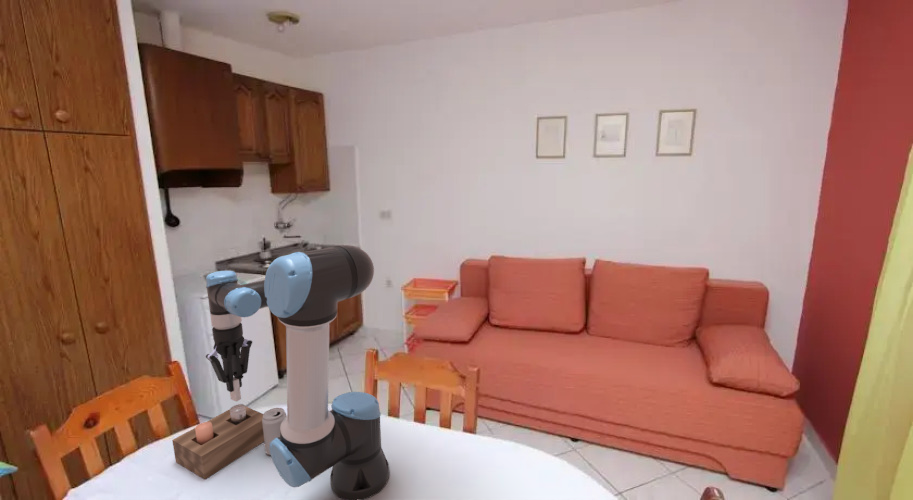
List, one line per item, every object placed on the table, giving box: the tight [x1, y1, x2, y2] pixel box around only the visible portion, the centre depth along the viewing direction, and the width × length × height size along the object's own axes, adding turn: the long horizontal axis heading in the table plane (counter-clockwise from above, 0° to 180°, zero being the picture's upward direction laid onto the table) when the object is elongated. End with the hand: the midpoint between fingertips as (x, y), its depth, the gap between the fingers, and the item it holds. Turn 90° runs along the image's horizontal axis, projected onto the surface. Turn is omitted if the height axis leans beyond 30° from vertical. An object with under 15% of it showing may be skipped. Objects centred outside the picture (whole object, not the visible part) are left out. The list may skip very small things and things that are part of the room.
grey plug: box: [229, 403, 246, 425], centre depth 122 cm, size 4×4×6 cm
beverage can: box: [262, 407, 287, 456], centre depth 118 cm, size 6×6×12 cm
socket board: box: [172, 405, 265, 480], centre depth 119 cm, size 14×20×7 cm
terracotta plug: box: [194, 421, 214, 445], centre depth 114 cm, size 4×4×6 cm
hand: (236, 399), depth 122 cm, fingers closed
